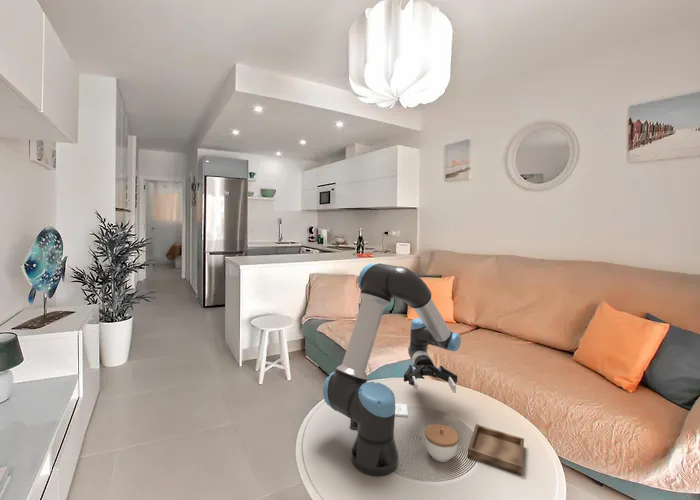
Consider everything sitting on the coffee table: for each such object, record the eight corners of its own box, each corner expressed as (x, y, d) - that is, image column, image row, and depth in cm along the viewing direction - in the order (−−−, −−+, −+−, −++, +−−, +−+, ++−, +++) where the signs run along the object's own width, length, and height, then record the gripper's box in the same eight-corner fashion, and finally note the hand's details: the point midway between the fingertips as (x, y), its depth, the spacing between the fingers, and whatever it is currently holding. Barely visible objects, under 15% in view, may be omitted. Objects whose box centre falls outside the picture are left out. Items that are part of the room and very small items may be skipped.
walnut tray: (467, 457, 113) (468, 448, 112) (475, 431, 127) (475, 424, 126) (521, 476, 105) (522, 466, 105) (523, 446, 119) (524, 438, 119)
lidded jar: (418, 446, 117) (420, 420, 117) (447, 443, 119) (449, 418, 118) (431, 468, 107) (433, 440, 106) (463, 465, 109) (465, 437, 108)
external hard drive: (377, 404, 144) (406, 407, 143) (376, 415, 136) (407, 418, 135) (377, 401, 144) (406, 403, 143) (376, 411, 136) (408, 414, 135)
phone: (350, 427, 126) (352, 405, 140) (350, 430, 126) (352, 408, 141) (371, 429, 125) (371, 406, 140) (371, 432, 125) (371, 409, 140)
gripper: (452, 372, 143) (470, 399, 121) (392, 371, 142) (400, 398, 121) (453, 355, 142) (471, 379, 121) (393, 353, 142) (401, 377, 121)
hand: (435, 388), depth 121 cm, fingers open, 13 cm apart
